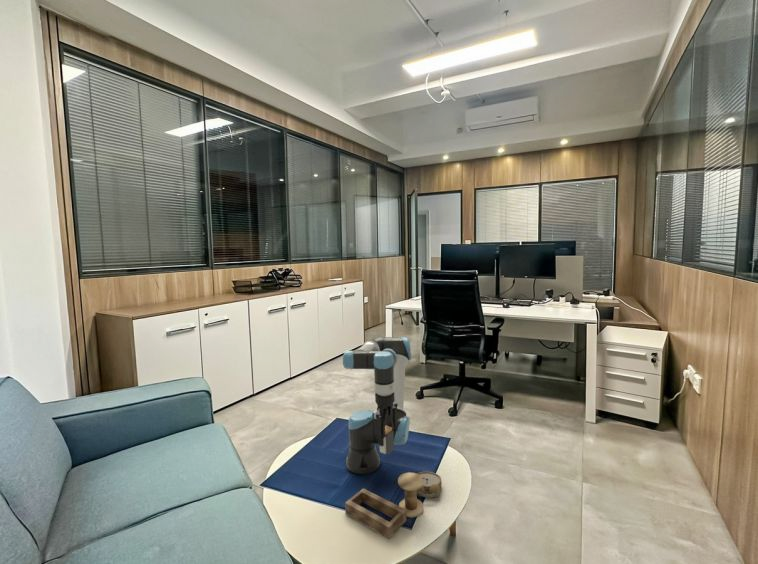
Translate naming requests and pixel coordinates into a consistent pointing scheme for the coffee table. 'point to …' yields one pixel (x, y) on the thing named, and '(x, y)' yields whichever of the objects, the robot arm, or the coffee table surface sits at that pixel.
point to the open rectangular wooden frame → (372, 519)
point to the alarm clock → (429, 484)
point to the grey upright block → (389, 439)
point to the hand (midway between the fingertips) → (386, 449)
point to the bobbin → (411, 494)
